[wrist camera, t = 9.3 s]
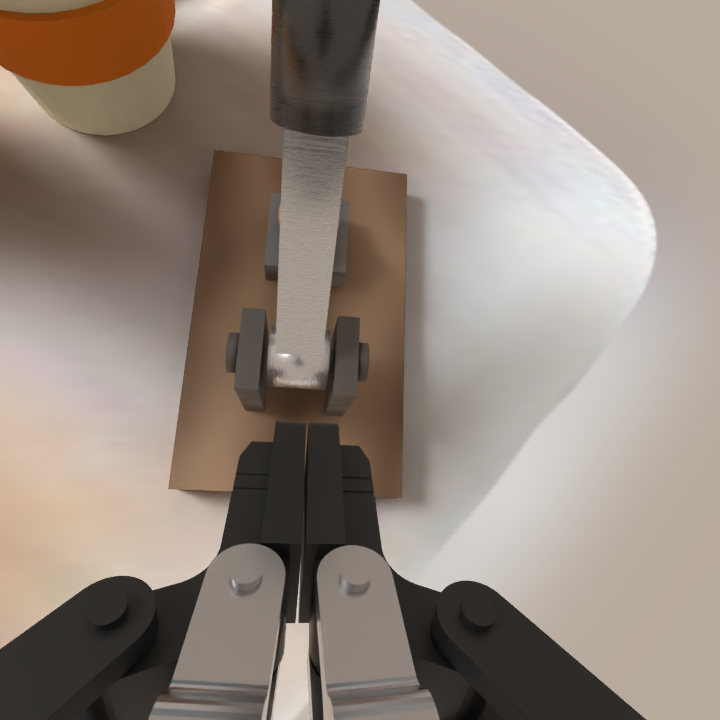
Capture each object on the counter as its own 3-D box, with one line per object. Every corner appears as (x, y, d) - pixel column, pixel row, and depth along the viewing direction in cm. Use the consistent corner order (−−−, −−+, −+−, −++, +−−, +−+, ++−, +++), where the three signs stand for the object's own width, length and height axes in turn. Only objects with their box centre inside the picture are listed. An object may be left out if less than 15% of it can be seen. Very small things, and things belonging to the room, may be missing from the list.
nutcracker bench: (176, 489, 27) (132, 488, 19) (219, 170, 32) (197, 69, 24) (393, 497, 28) (433, 500, 20) (399, 192, 33) (433, 103, 26)
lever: (253, 405, 21) (254, -377, 9) (262, 352, 24) (272, -301, 12) (335, 409, 22) (448, -327, 9) (334, 358, 25) (420, -265, 12)
